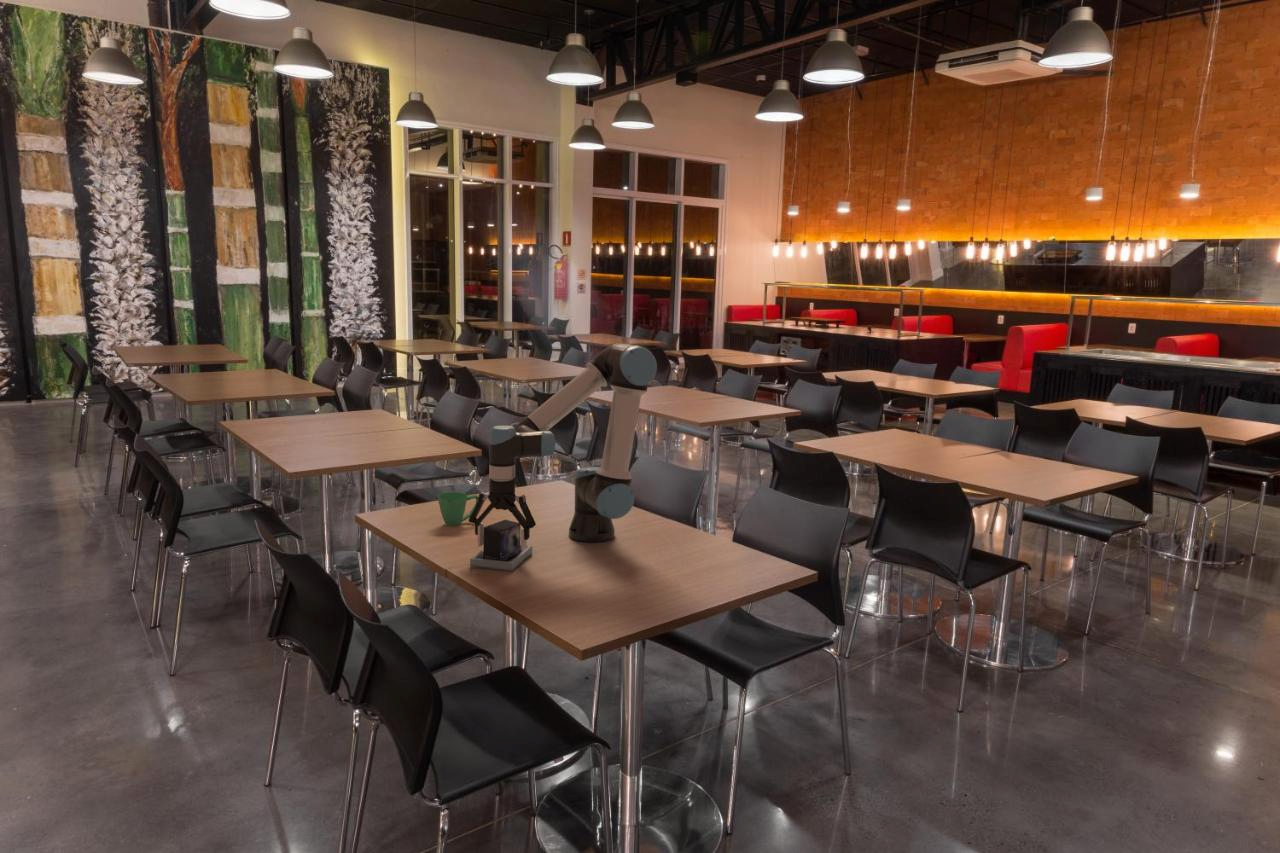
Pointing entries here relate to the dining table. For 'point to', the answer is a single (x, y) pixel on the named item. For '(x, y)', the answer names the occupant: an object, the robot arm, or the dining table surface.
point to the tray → (508, 565)
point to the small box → (502, 541)
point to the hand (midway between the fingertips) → (502, 547)
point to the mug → (454, 507)
